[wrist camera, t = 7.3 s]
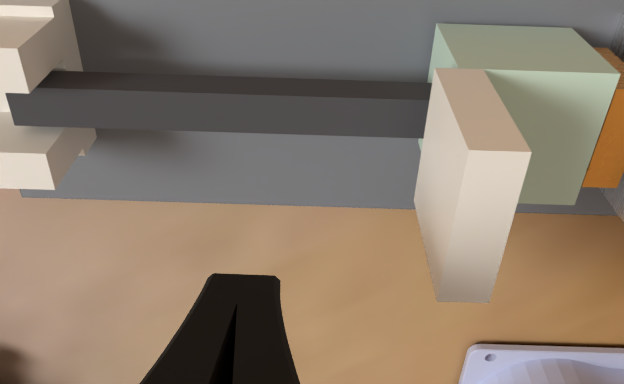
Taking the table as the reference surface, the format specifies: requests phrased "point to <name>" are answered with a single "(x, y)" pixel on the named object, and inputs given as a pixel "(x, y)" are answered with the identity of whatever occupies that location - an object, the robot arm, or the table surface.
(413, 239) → the table surface
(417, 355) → the table surface
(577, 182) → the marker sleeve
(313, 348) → the table surface
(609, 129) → the connector
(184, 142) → the board
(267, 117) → the dark grey bar
